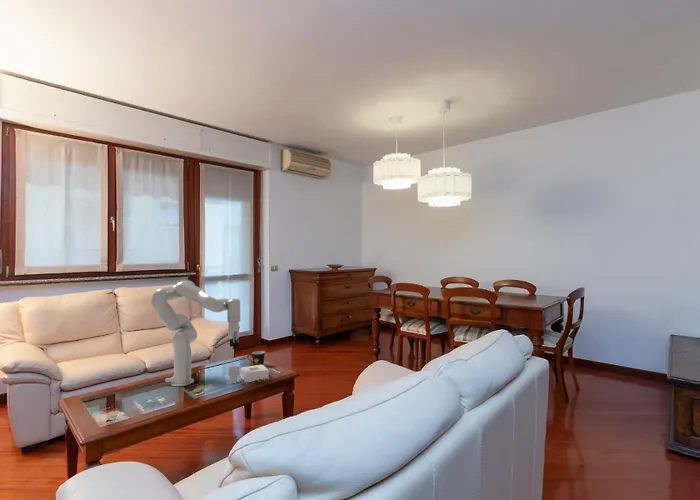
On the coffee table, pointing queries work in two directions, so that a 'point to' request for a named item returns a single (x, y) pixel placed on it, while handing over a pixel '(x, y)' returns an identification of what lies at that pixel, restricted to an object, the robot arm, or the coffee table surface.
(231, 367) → the plug
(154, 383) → the coffee table surface
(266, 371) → the socket
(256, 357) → the coffee mug
